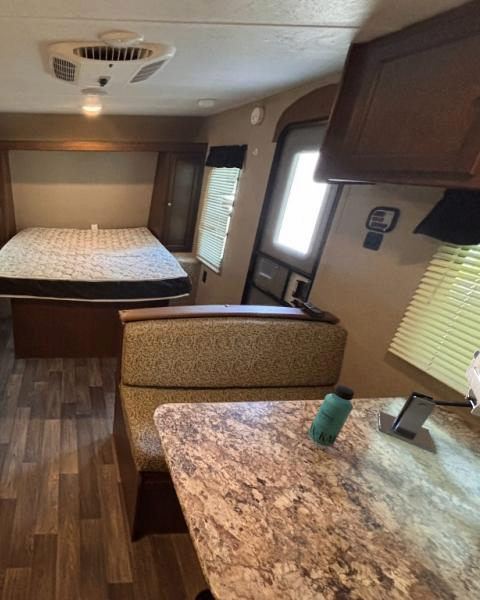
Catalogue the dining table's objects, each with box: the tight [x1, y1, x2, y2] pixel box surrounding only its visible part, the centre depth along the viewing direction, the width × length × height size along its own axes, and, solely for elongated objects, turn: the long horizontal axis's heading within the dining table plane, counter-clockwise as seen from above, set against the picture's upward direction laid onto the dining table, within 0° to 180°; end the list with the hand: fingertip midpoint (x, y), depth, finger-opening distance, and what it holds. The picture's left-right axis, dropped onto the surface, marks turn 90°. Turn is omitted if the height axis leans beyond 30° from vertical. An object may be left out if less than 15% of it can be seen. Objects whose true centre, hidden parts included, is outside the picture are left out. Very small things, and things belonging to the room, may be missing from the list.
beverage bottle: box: [308, 384, 355, 447], centre depth 90 cm, size 6×7×20 cm
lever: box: [414, 396, 477, 409], centre depth 91 cm, size 12×5×2 cm, turn 49°
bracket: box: [377, 389, 437, 453], centre depth 96 cm, size 12×10×14 cm
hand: (471, 407), depth 88 cm, fingers closed on lever, 5 cm apart
